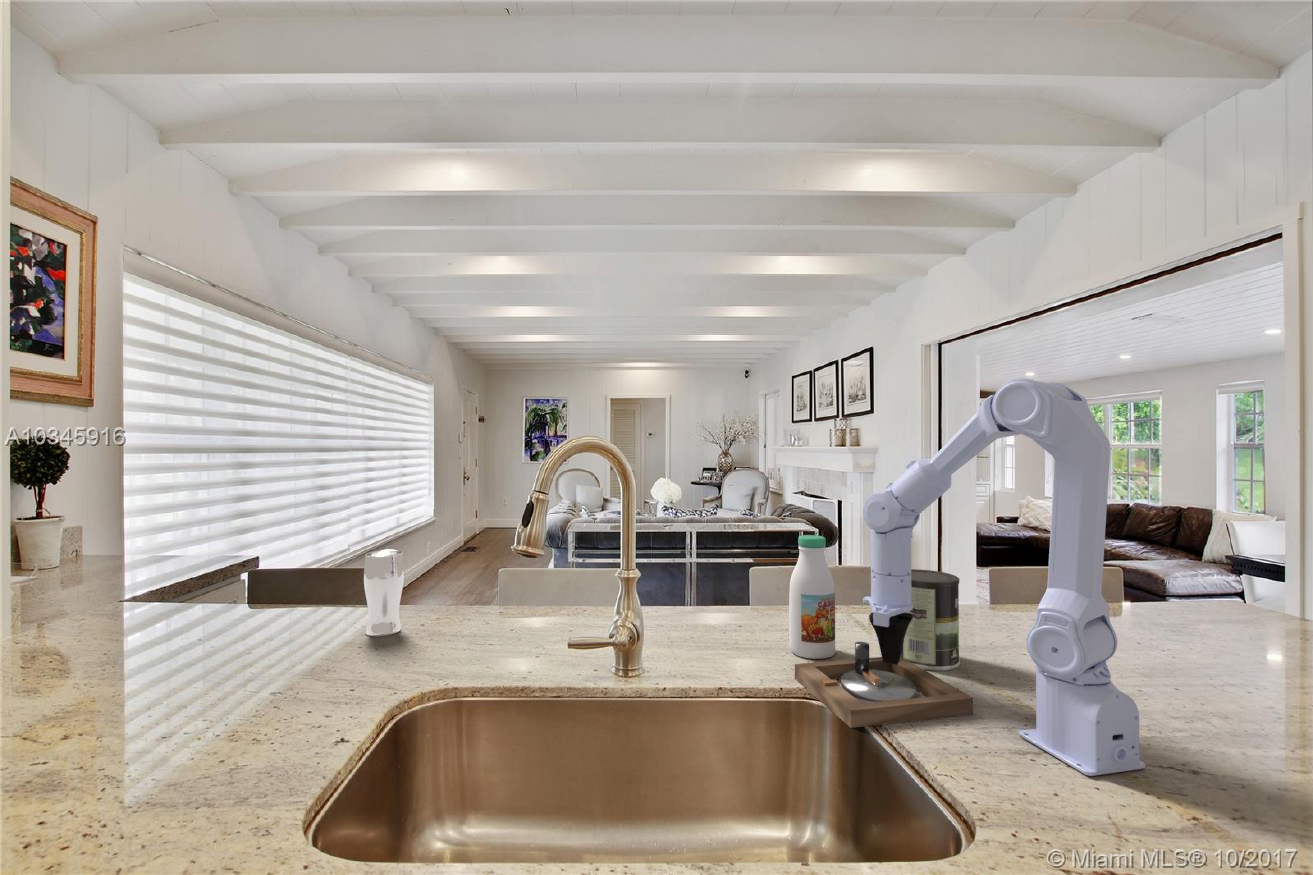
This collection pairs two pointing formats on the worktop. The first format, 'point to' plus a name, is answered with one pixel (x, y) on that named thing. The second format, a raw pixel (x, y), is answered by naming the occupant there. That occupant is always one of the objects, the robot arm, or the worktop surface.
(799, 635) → the milk bottle
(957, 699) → the frame
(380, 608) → the beer glass
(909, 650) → the coffee can
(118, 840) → the worktop surface
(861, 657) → the dial
